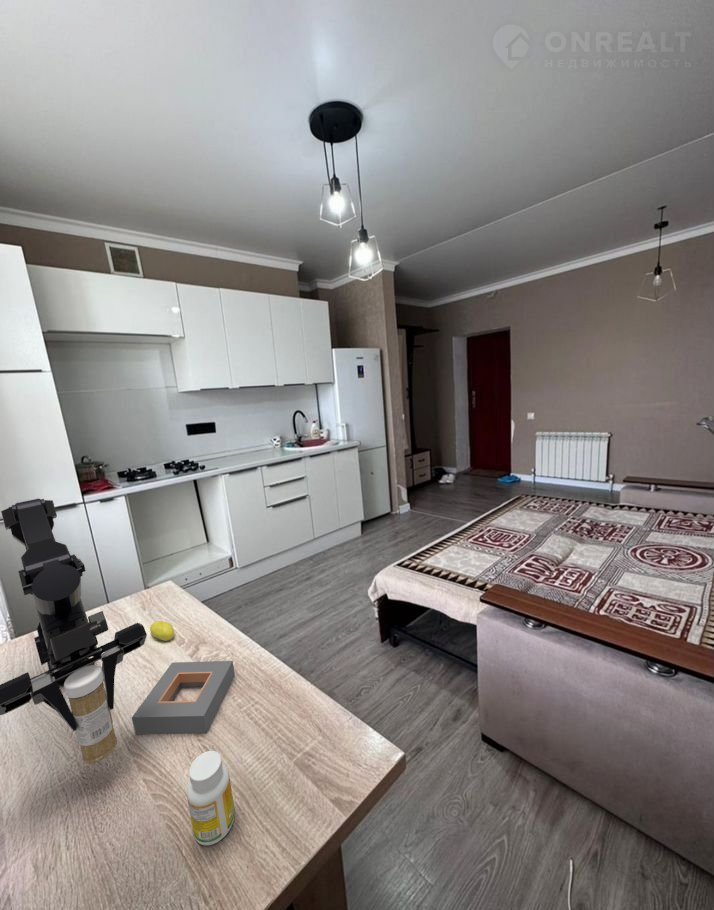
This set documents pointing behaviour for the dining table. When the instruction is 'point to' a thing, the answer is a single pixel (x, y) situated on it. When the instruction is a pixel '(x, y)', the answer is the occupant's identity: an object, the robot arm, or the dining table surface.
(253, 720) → the dining table surface
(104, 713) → the sprinkles bottle
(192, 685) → the collar block
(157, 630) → the lemon
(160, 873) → the dining table surface
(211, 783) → the supplement bottle
